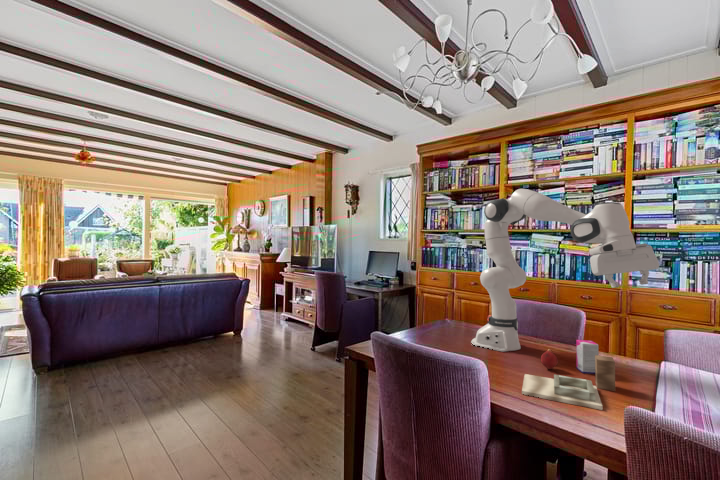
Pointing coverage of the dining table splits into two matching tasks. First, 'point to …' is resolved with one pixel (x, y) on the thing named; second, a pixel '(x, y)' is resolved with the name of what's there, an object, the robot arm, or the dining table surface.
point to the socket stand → (563, 390)
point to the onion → (549, 359)
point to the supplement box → (586, 356)
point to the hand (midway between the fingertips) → (629, 285)
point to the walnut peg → (605, 372)
